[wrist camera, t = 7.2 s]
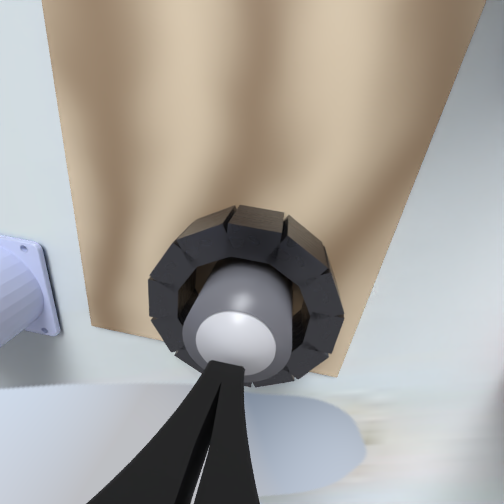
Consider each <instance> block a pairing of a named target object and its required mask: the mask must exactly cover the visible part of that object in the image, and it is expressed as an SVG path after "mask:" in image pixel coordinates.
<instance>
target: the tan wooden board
mask: <svg viewBox="0 0 504 504" xmlns="http://www.w3.org/2000/svg"><path fill="white" fill-rule="evenodd" d="M485 3H486V0H42V6H43V13H44V19H45V26H46V32H47V39H48V45H49V52H50V58H51V65H52V71H53V78H54V84H55V91H56V97H57V104H58V110H59V117H60V123H61V130H62V136H63V143H64V149H65V156H66V162H67V169H68V175H69V182H70V188H71V195H72V201H73V208H74V214H75V221H76V227H77V234H78V240H79V247H80V253H81V260H82V266H83V273H84V279H85V286H86V292H87V299H88V305H89V312H90V318H91V325H92V326H95V327H100V328H105V329H109V330H114V331H119V332H124V333H128V334H133V335H138V336H143V337H147V338H152V339H157V340H162V341H163V339H162V337H161V336H160V334H159V333H158V331H157V330H156V328H155V327H154V325H153V324H152V322H151V319H152V318H153V317H149V297H148V279H149V278H150V277H151V276H149V275H150V274H151V272H152V271H153V269H154V268H155V266H156V265H157V264H158V262H159V261H160V259H161V258H162V257H163V255H164V254H165V252H166V251H167V250H168V248H169V247H170V245H171V244H172V243H173V242H174V241H175V240H176V239H177V238H178V237H179V236H180V235H181V234H182V233H183V232H184V230H185V229H186V228H187V227H188V226H189V225H190V224H191V223H192V222H194V221H195V220H196V219H198V218H201V217H204V216H207V215H209V214H212V213H215V212H217V211H220V210H223V209H226V208H228V207H231V206H234V205H235V206H236V208H238V207H239V205H245V206H251V207H256V208H262V209H268V210H273V211H279V212H284V218H283V220H284V219H285V218H286V217H287V216H288V215H290V216H291V217H292V218H294V219H295V220H296V221H297V222H298V223H300V224H301V225H302V226H303V227H305V228H306V229H307V230H308V231H309V232H311V233H312V234H313V235H314V236H316V237H317V238H318V239H319V240H320V241H322V244H323V246H325V248H326V251H327V254H328V257H329V261H330V264H331V267H332V270H333V273H334V276H335V279H336V282H337V286H338V290H339V294H340V298H341V302H342V306H343V309H344V313H345V314H344V318H345V319H344V321H343V324H342V327H341V330H340V332H339V335H338V338H337V341H336V343H335V346H334V349H333V352H332V354H329V353H328V354H329V358H327V359H326V360H325V361H323V362H322V363H320V364H319V365H318V366H316V367H315V368H313V369H312V370H311V371H309V372H313V373H318V374H323V375H328V376H332V377H337V376H338V374H339V371H340V368H341V366H342V363H343V361H344V358H345V356H346V353H347V351H348V348H349V346H350V343H351V341H352V338H353V336H354V333H355V331H356V328H357V326H358V323H359V321H360V318H361V316H362V313H363V310H364V308H365V305H366V303H367V300H368V298H369V295H370V293H371V290H372V288H373V285H374V283H375V280H376V278H377V275H378V273H379V270H380V268H381V265H382V263H383V260H384V258H385V255H386V252H387V250H388V247H389V245H390V242H391V240H392V237H393V235H394V232H395V230H396V227H397V225H398V222H399V220H400V217H401V215H402V212H403V210H404V207H405V205H406V202H407V200H408V197H409V194H410V192H411V189H412V187H413V184H414V182H415V179H416V177H417V174H418V172H419V169H420V167H421V164H422V162H423V159H424V157H425V154H426V152H427V149H428V147H429V144H430V142H431V139H432V136H433V134H434V131H435V129H436V126H437V124H438V121H439V119H440V116H441V114H442V111H443V109H444V106H445V104H446V101H447V99H448V96H449V94H450V91H451V89H452V86H453V84H454V81H455V78H456V76H457V73H458V71H459V68H460V66H461V63H462V61H463V58H464V56H465V53H466V51H467V48H468V46H469V43H470V41H471V38H472V36H473V33H474V31H475V28H476V26H477V23H478V20H479V18H480V15H481V13H482V10H483V8H484V5H485ZM216 263H217V261H214V262H211V263H208V264H205V265H202V266H198V267H196V282H195V289H196V290H197V292H198V294H200V292H201V290H202V288H203V286H204V284H205V283H206V281H207V279H208V277H209V275H210V273H211V272H212V270H213V268H214V266H215V264H216ZM292 283H293V297H292V317H293V316H294V315H295V314H296V313H297V312H298V311H299V310H301V308H302V304H303V301H304V298H303V296H302V293H301V290H300V288H299V286H298V285H296V284H295V283H294V282H292Z"/></svg>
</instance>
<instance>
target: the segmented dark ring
mask: <svg viewBox="0 0 504 504" xmlns="http://www.w3.org/2000/svg"><path fill="white" fill-rule="evenodd" d="M283 218H284V212H279V211H273V210H268V209H262V208H256V207H251V206H245V205H239V207H238V208H236V206H235V205H234V206H231V207H228V208H226V209H223V210H220V211H217V212H215V213H212V214H209V215H207V216H204V217H201V218H198V219H196V220H195V221H194V222H192V223H191V224H190V225H189V226H188V227H187V228H186V229H185V230H184V232H183V233H182V234H181V235H180V236H179V237H178V238H177V239H176V240H175V241H174V242H173V243H172V244H171V245H170V247H169V248H168V250H167V251H166V252H165V254H164V255H163V257H162V258H161V259H160V261H159V262H158V264H157V265H156V266H155V268H154V269H153V271H152V272H151V274H150V275H149V276H151V277H150V278H149V279H148V297H149V317H153V318H152V319H151V322H152V324H153V325H154V327H155V328H156V330H157V331H158V333H159V334H160V336H161V337H162V339H163V341H164V342H165V344H166V345H167V347H168V348H169V350H170V351H171V352H175V351H176V353H175V355H174V356H176V357H178V358H179V359H181V360H182V361H184V362H185V363H187V364H188V365H190V366H191V367H193V368H194V369H196V370H198V371H199V372H201V373H203V371H204V369H203V368H201V367H200V366H199V365H198V364H197V363H196V362H195V361H194V360H193V359H192V358H191V356H190V355H189V353H188V352H187V350H186V348H185V345H184V342H183V335H182V331H183V325H184V322H185V319H186V317H187V315H188V314H189V312H190V310H191V308H192V306H193V305H194V303H195V301H196V299H197V297H198V295H199V294H198V292H197V290H196V289H195V282H196V267H198V266H202V265H205V264H208V263H211V262H214V261H218V260H221V259H224V258H227V257H230V256H231V257H237V258H242V259H247V260H253V261H258V262H263V263H269V264H270V265H272V266H273V267H274V268H276V269H277V270H278V271H280V272H281V273H282V274H283V275H285V276H286V277H287V278H289V279H290V280H291V281H292V282H294V283H295V284H296V285H298V286H299V288H300V290H301V293H302V296H303V298H304V301H303V304H302V308H301V310H299V311H298V312H297V313H296V314H295V315H294V316H293V317H292V351H291V355H290V359H289V360H288V362H287V364H286V365H285V367H284V368H283V369H282V370H281V371H280V372H278V373H277V374H276V375H274V376H272V377H270V378H268V379H265V380H262V381H257V382H253V384H254V386H255V387H260V386H267V385H273V384H279V383H285V382H291V381H294V377H296V378H297V379H299V378H301V377H302V376H304V375H305V374H306V373H308V372H309V371H311V370H312V369H313V368H315V367H316V366H318V365H319V364H320V363H322V362H323V361H325V360H326V359H327V358H329V354H332V352H333V349H334V346H335V343H336V341H337V338H338V335H339V332H340V330H341V327H342V324H343V321H344V319H345V318H344V314H345V313H344V309H343V306H342V302H341V298H340V294H339V290H338V286H337V282H336V279H335V276H334V273H333V270H332V267H331V264H330V261H329V257H328V254H327V251H326V248H325V246H323V244H322V241H320V240H319V239H318V238H317V237H316V236H314V235H313V234H312V233H311V232H309V231H308V230H307V229H306V228H305V227H303V226H302V225H301V224H300V223H298V222H297V221H296V220H295V219H294V218H292V217H291V216H290V215H288V216H287V217H286V218H285V219H284V220H283ZM328 353H329V354H328ZM251 384H252V382H248V383H244V386H248V387H251Z"/></svg>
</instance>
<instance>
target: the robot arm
mask: <svg viewBox="0 0 504 504" xmlns="http://www.w3.org/2000/svg"><path fill="white" fill-rule="evenodd" d="M22 330H26V331H30V332H35V333H40V334H44V335H49V336H57V335H58V334H59V333H60V326H59V322H58V317H57V313H56V308H55V304H54V299H53V295H52V290H51V286H50V281H49V276H48V272H47V267H46V263H45V258H44V254H43V249H42V247H41V246H40V244H38V243H37V242H34V241H29V240H24V239H19V238H14V237H8V236H3V235H0V347H2V346H3V345H4V344H6V343H7V342H8V341H9V340H11V339H12V338H13V337H15V336H16V335H17V334H18V333H20V332H21V331H22ZM244 374H245V368H244V367H243V366H238V365H233V364H229V363H224V362H219V361H215V360H211V361H209V362H208V364H207V366H206V368H205V370H204V371H203V373H202V375H201V376H200V378H199V379H198V381H197V382H196V384H195V385H194V387H193V388H192V390H191V391H190V392H189V394H188V395H187V396H186V398H185V399H184V400H183V402H182V403H181V405H180V406H179V407H178V408H177V410H176V411H175V412H174V414H173V415H172V416H171V417H170V418H169V419H168V421H167V422H166V423H165V424H164V425H163V427H162V428H161V429H160V430H159V431H158V433H157V434H156V435H155V436H154V437H153V438H152V439H151V440H150V442H149V443H148V444H147V445H146V446H145V447H144V448H143V449H142V450H141V451H140V452H139V453H138V454H137V456H136V457H135V458H134V459H133V460H132V461H131V462H130V463H129V464H128V465H127V466H126V467H125V468H124V469H123V470H122V471H121V472H120V473H119V474H118V475H117V476H116V477H115V478H114V479H113V480H112V481H111V482H110V483H108V484H107V485H106V486H105V487H104V488H103V489H102V490H101V491H100V492H99V493H98V494H97V495H96V496H94V497H93V498H92V499H91V500H90V501H89V502H88V503H87V504H190V503H191V499H192V496H193V493H194V490H195V487H196V484H197V481H198V478H199V475H200V472H201V469H202V466H203V463H204V460H205V457H206V454H207V451H208V448H209V452H208V455H207V459H206V462H205V466H204V469H203V473H202V476H201V480H200V484H199V487H198V491H197V494H196V498H195V501H194V504H260V503H259V498H258V494H257V489H256V484H255V480H254V474H253V469H252V464H251V458H250V451H249V445H248V438H247V430H246V420H245V410H244ZM209 445H210V447H209Z"/></svg>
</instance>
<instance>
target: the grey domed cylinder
mask: <svg viewBox="0 0 504 504" xmlns="http://www.w3.org/2000/svg"><path fill="white" fill-rule="evenodd" d="M292 297H293V283H292V281H291V280H290V279H289V278H287V277H286V276H285V275H283V274H282V273H281V272H280V271H278V270H277V269H276V268H274V267H273V266H272V265H270V264H269V263H263V262H258V261H253V260H247V259H242V258H237V257H231V256H230V257H227V258H224V259H221V260H218V261H217V263H216V264H215V266H214V268H213V270H212V272H211V273H210V275H209V277H208V279H207V281H206V283H205V284H204V286H203V288H202V290H201V292H200V294H199V295H198V297H197V299H196V301H195V303H194V305H193V306H192V308H191V310H190V312H189V314H188V315H187V317H186V319H185V322H184V325H183V331H182V335H183V342H184V345H185V348H186V350H187V352H188V353H189V355H190V356H191V358H192V359H193V360H194V361H195V362H196V363H197V364H198V365H199V366H200V367H201V368H203V369H204V370H205V368H206V366H207V364H208V362H209V361H211V360H215V361H219V362H224V363H229V364H233V365H238V366H243V367H244V368H245V374H244V383H248V382H257V381H262V380H265V379H268V378H270V377H272V376H274V375H276V374H277V373H278V372H280V371H281V370H282V369H283V368H284V367H285V365H286V364H287V362H288V360H289V359H290V355H291V351H292Z"/></svg>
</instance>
